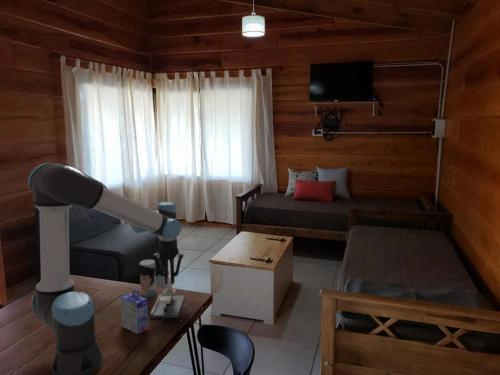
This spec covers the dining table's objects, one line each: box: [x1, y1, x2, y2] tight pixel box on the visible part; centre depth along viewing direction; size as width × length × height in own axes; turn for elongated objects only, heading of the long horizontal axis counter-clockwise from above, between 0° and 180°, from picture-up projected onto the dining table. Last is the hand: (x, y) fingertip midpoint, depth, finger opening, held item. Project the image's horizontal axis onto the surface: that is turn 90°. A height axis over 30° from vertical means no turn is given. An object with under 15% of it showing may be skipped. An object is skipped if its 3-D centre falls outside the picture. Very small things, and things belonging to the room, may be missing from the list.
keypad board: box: [149, 293, 185, 319], centre depth 161 cm, size 17×11×2 cm, turn 1°
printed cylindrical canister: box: [139, 259, 157, 298], centre depth 173 cm, size 7×7×15 cm
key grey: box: [161, 290, 173, 298], centre depth 160 cm, size 4×4×1 cm
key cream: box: [159, 296, 171, 304], centre depth 155 cm, size 4×4×1 cm
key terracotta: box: [166, 288, 177, 296], centre depth 165 cm, size 4×4×1 cm
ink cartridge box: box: [120, 289, 149, 335], centre depth 145 cm, size 10×6×14 cm, turn 55°
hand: (170, 290), depth 165 cm, fingers closed
